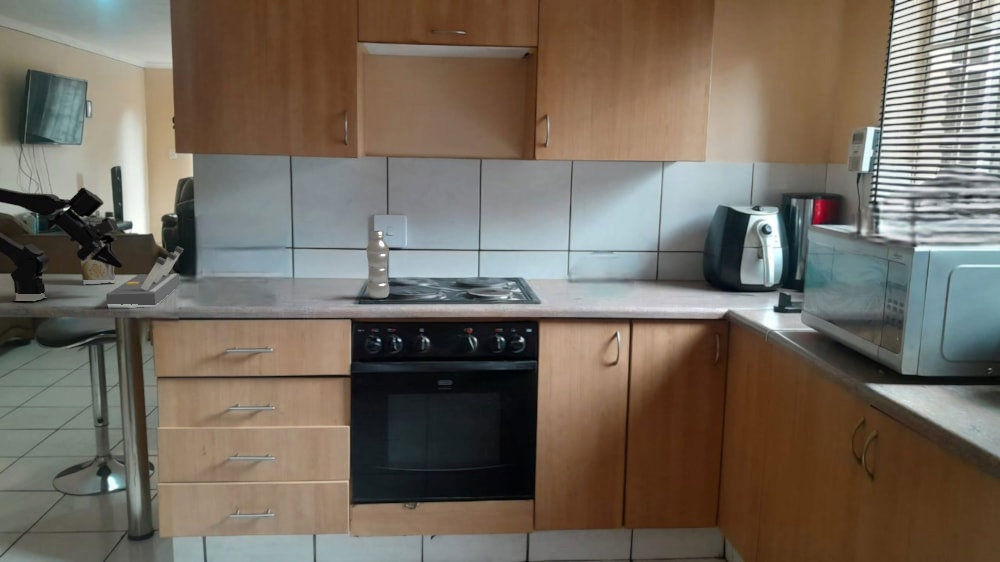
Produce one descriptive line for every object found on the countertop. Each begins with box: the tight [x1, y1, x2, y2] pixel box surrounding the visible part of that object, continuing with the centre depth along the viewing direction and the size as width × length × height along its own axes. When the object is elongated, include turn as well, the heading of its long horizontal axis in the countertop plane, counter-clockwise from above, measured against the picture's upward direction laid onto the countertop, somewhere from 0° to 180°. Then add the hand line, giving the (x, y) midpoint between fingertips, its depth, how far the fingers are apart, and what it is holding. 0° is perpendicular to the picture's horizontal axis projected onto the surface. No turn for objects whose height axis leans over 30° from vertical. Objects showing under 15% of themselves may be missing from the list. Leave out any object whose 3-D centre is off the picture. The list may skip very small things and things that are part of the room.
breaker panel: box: [105, 273, 181, 305], centre depth 212 cm, size 12×35×4 cm, turn 14°
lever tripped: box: [154, 251, 177, 283], centre depth 212 cm, size 2×3×10 cm
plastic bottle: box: [365, 230, 390, 300], centre depth 212 cm, size 6×7×20 cm
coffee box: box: [78, 232, 116, 281], centre depth 233 cm, size 9×6×16 cm
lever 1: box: [141, 256, 167, 291], centre depth 200 cm, size 2×3×10 cm
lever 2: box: [163, 245, 185, 276], centre depth 225 cm, size 2×3×10 cm
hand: (121, 266), depth 210 cm, fingers closed
